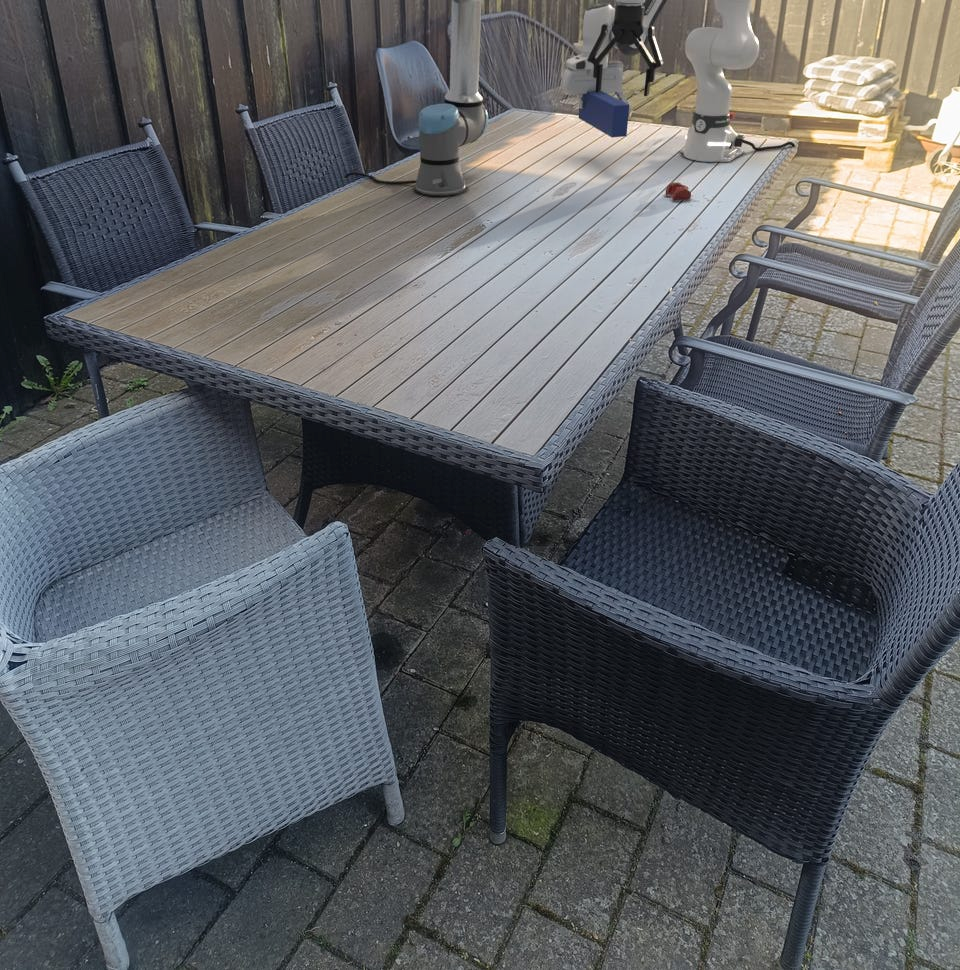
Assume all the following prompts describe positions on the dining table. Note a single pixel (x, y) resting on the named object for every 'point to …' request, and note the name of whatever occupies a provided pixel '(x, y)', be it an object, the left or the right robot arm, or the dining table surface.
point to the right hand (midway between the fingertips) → (590, 107)
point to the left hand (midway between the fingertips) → (622, 93)
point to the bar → (605, 113)
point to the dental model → (678, 191)
